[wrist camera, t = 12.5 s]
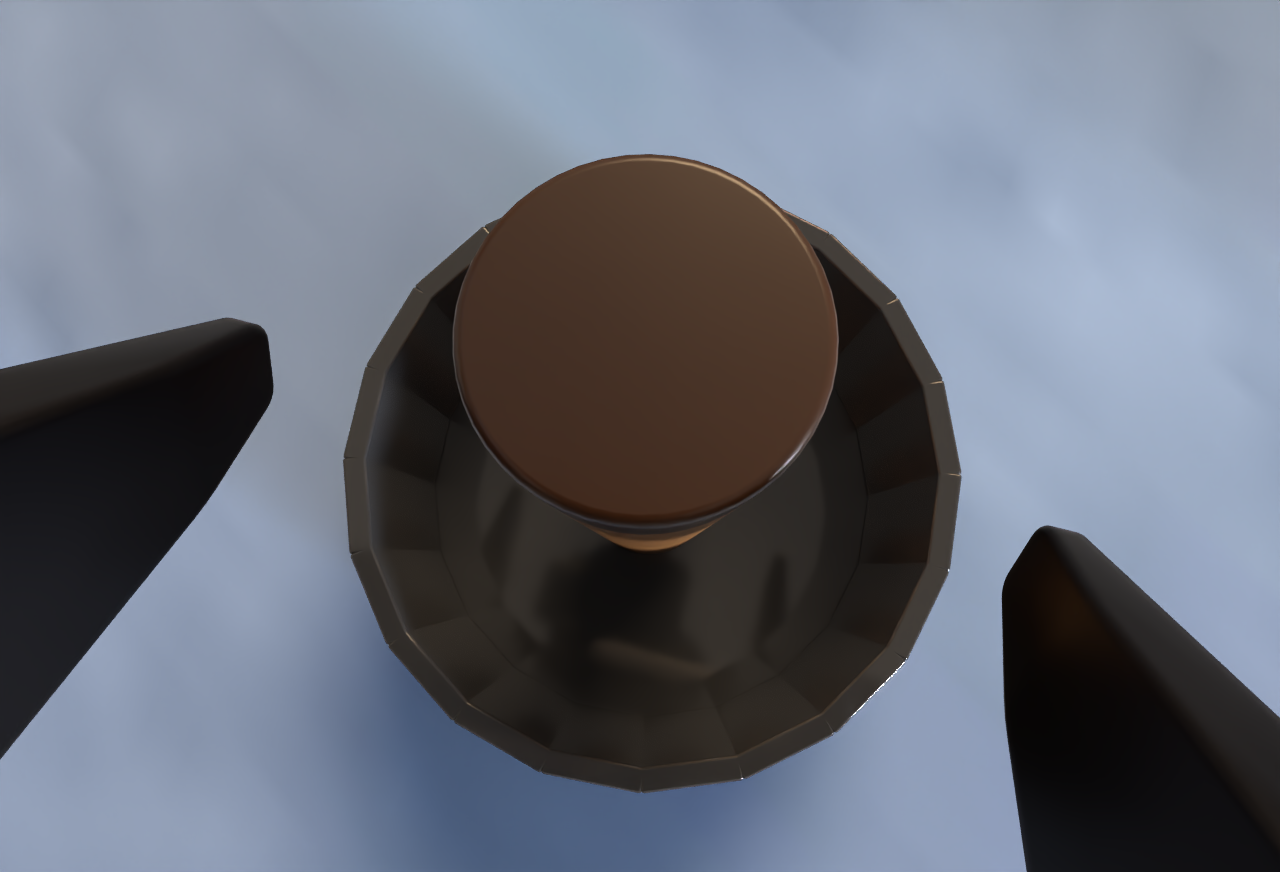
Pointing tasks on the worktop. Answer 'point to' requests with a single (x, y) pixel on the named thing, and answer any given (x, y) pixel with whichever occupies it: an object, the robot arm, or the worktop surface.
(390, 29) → the worktop surface
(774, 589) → the bowl
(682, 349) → the stick
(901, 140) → the worktop surface
